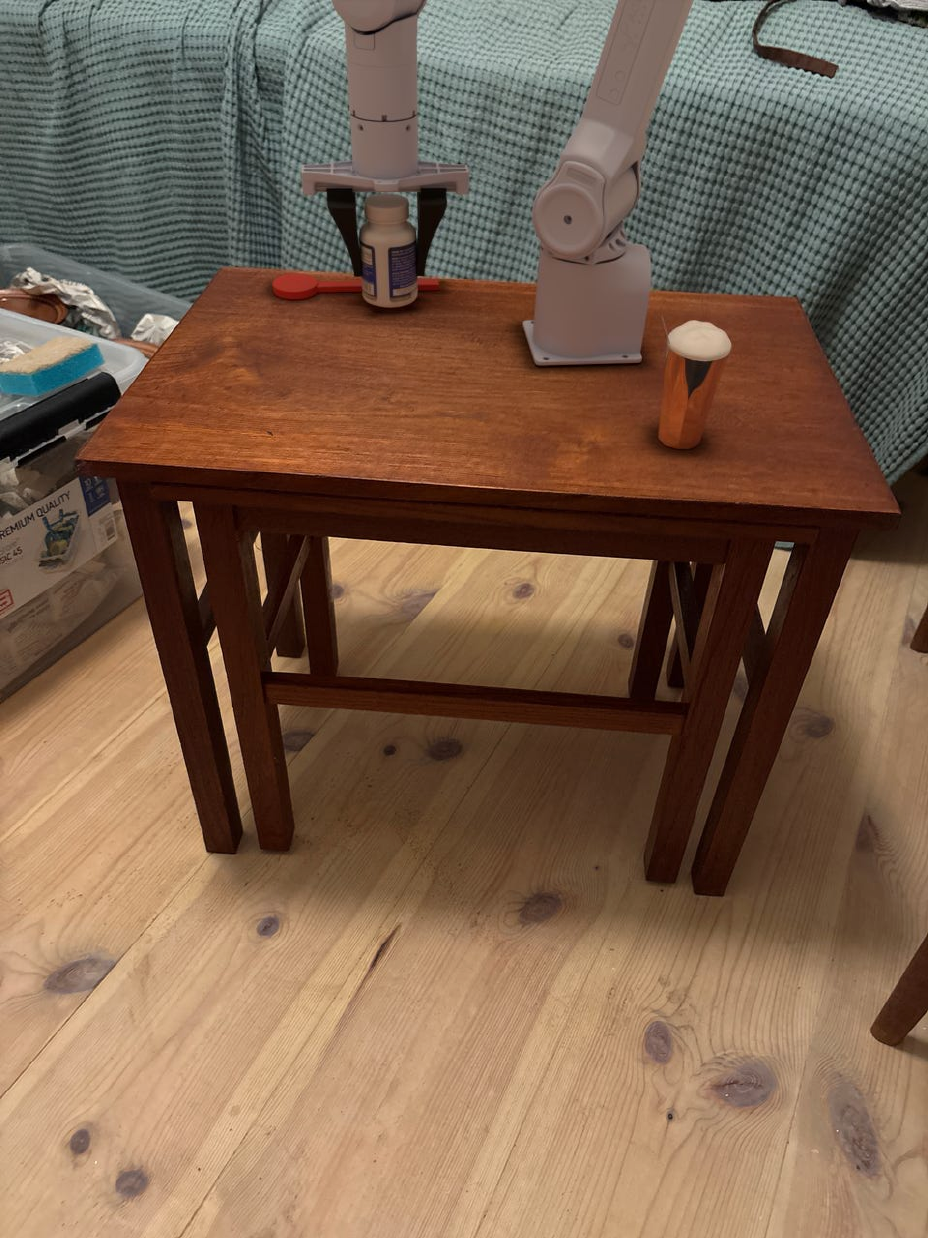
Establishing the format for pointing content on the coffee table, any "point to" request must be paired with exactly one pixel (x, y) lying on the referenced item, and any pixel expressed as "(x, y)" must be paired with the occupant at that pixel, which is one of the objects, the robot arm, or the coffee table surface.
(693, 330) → the milkshake
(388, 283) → the pill bottle
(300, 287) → the red spoon
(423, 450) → the coffee table surface
